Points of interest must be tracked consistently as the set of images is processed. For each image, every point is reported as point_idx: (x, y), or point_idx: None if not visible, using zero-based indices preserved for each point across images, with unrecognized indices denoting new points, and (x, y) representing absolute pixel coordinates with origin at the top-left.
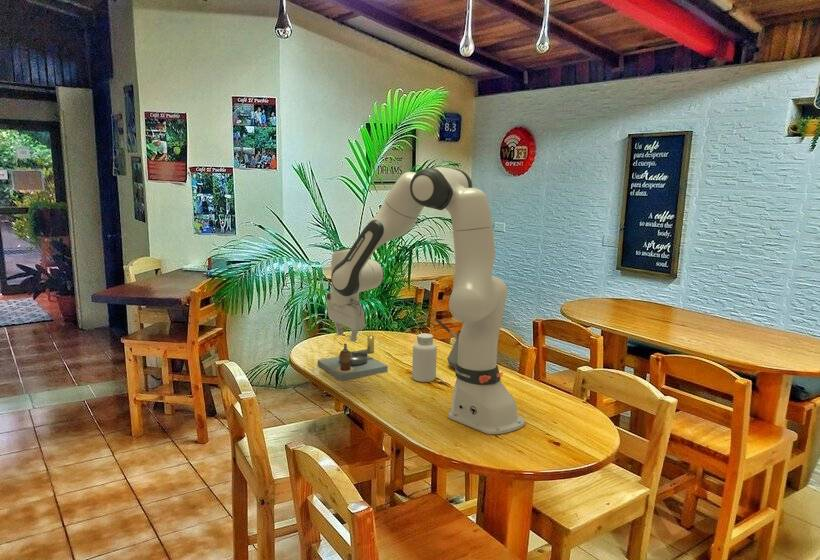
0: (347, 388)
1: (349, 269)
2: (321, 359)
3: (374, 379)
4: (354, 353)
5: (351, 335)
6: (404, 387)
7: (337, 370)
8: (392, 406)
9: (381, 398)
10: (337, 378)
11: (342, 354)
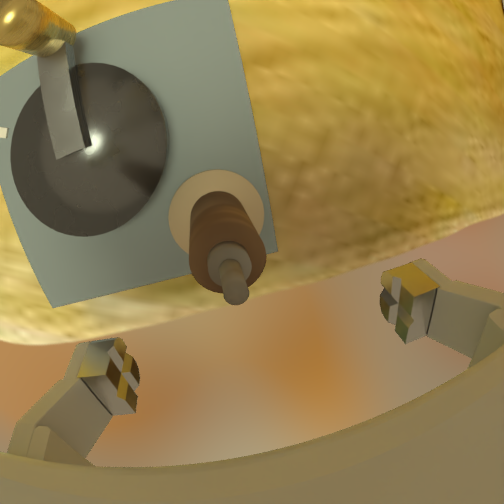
0: (354, 231)
1: None
2: (45, 292)
3: (305, 92)
4: (84, 147)
5: (447, 336)
6: (414, 39)
7: None
8: (492, 155)
9: (457, 156)
10: None
11: (250, 279)
